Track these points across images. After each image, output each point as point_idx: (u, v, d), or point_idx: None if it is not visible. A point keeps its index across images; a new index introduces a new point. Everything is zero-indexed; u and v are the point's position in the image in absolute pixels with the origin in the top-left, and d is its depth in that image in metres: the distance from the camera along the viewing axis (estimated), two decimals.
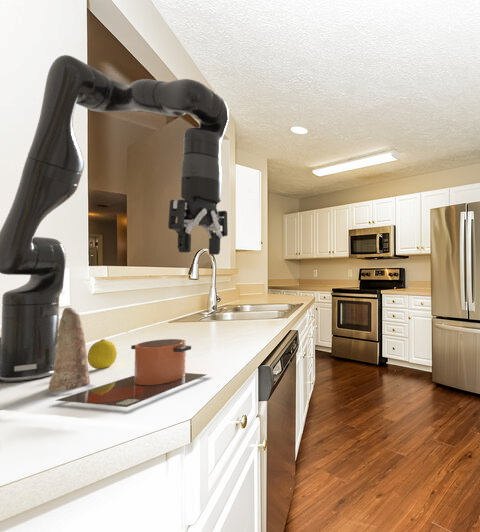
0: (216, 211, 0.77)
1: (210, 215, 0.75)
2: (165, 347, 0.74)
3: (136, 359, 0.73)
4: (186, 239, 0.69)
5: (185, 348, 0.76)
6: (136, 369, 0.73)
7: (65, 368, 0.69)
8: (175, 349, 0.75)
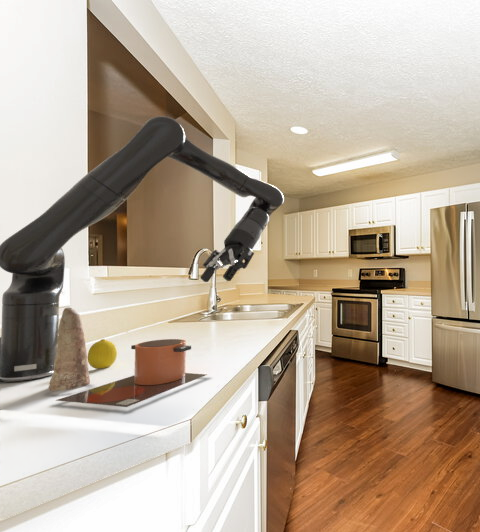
0: None
1: None
2: (165, 347, 0.74)
3: (136, 359, 0.73)
4: None
5: (185, 348, 0.76)
6: (136, 369, 0.73)
7: (65, 368, 0.69)
8: (175, 349, 0.75)
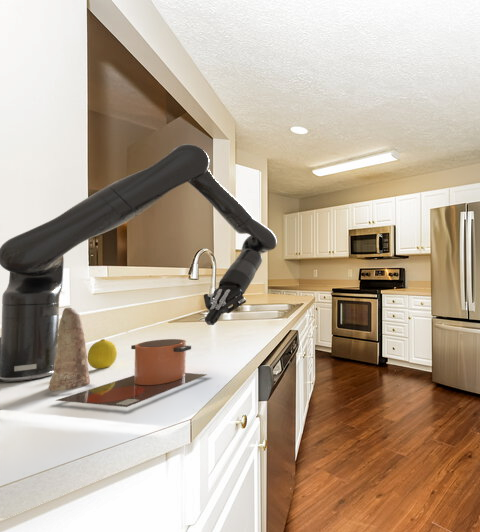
0: None
1: None
2: (165, 347, 0.74)
3: (136, 359, 0.73)
4: None
5: (185, 348, 0.76)
6: (136, 369, 0.73)
7: (65, 368, 0.69)
8: (175, 349, 0.75)
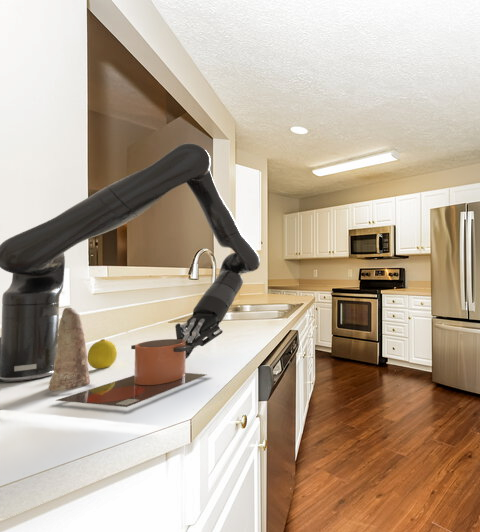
0: None
1: None
2: (165, 347, 0.74)
3: (136, 359, 0.73)
4: None
5: (185, 348, 0.76)
6: (136, 369, 0.73)
7: (65, 368, 0.69)
8: (175, 349, 0.75)
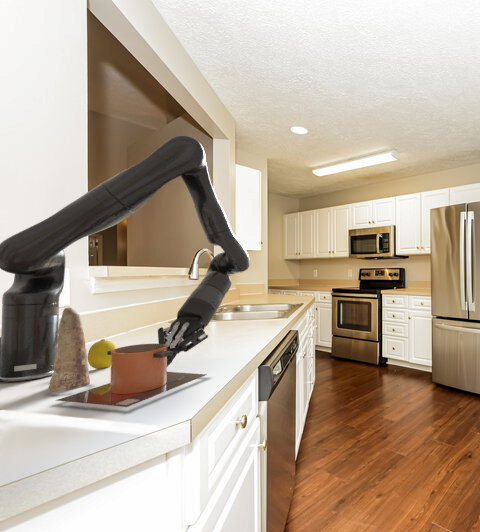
0: None
1: None
2: (144, 353, 0.69)
3: (112, 366, 0.68)
4: None
5: (166, 353, 0.71)
6: (112, 377, 0.68)
7: (65, 368, 0.69)
8: (154, 354, 0.70)
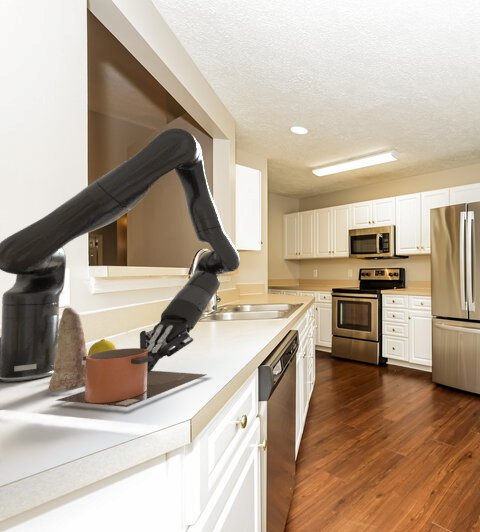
0: None
1: None
2: (120, 359, 0.64)
3: (86, 373, 0.63)
4: None
5: (145, 359, 0.66)
6: (86, 384, 0.63)
7: (65, 368, 0.69)
8: (132, 361, 0.65)
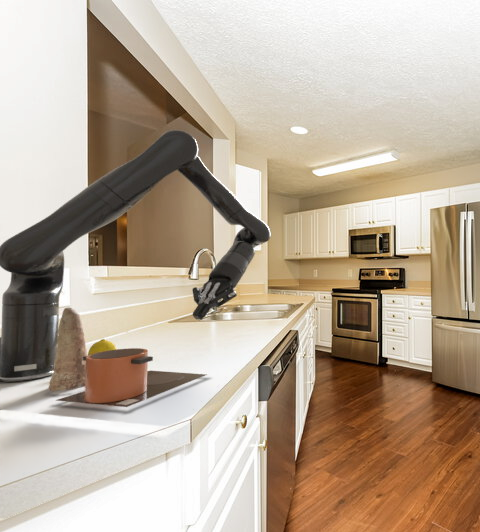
0: None
1: None
2: (120, 359, 0.64)
3: (86, 373, 0.63)
4: None
5: (145, 359, 0.66)
6: (86, 384, 0.63)
7: (65, 368, 0.69)
8: (132, 361, 0.65)
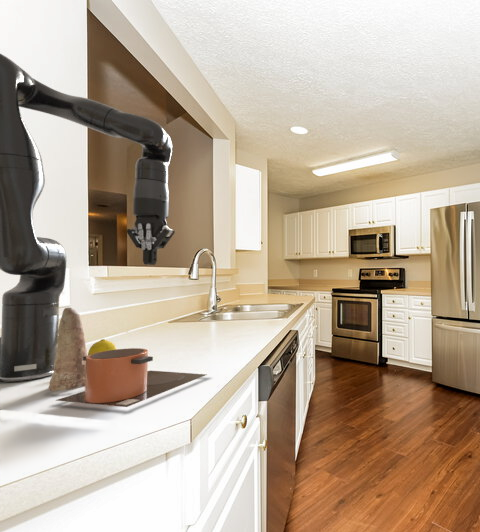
0: None
1: None
2: (120, 359, 0.64)
3: (86, 373, 0.63)
4: None
5: (145, 359, 0.66)
6: (86, 384, 0.63)
7: (65, 368, 0.69)
8: (132, 361, 0.65)
